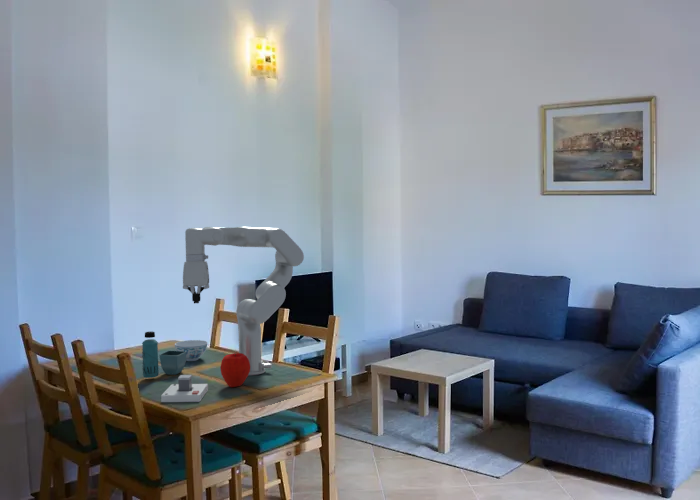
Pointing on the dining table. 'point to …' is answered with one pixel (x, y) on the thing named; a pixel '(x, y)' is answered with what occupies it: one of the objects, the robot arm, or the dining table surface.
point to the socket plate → (184, 393)
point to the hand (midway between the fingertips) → (196, 302)
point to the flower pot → (173, 361)
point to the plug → (185, 382)
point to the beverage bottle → (150, 356)
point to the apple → (235, 369)
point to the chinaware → (192, 348)
